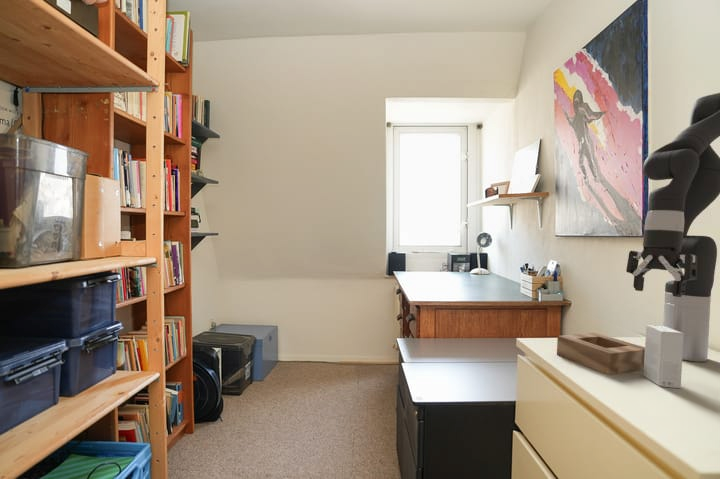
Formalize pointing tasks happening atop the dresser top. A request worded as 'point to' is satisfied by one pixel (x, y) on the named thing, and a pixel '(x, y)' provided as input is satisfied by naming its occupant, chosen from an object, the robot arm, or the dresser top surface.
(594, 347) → the socket block
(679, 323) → the robot arm
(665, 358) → the skincare box
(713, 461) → the dresser top surface
